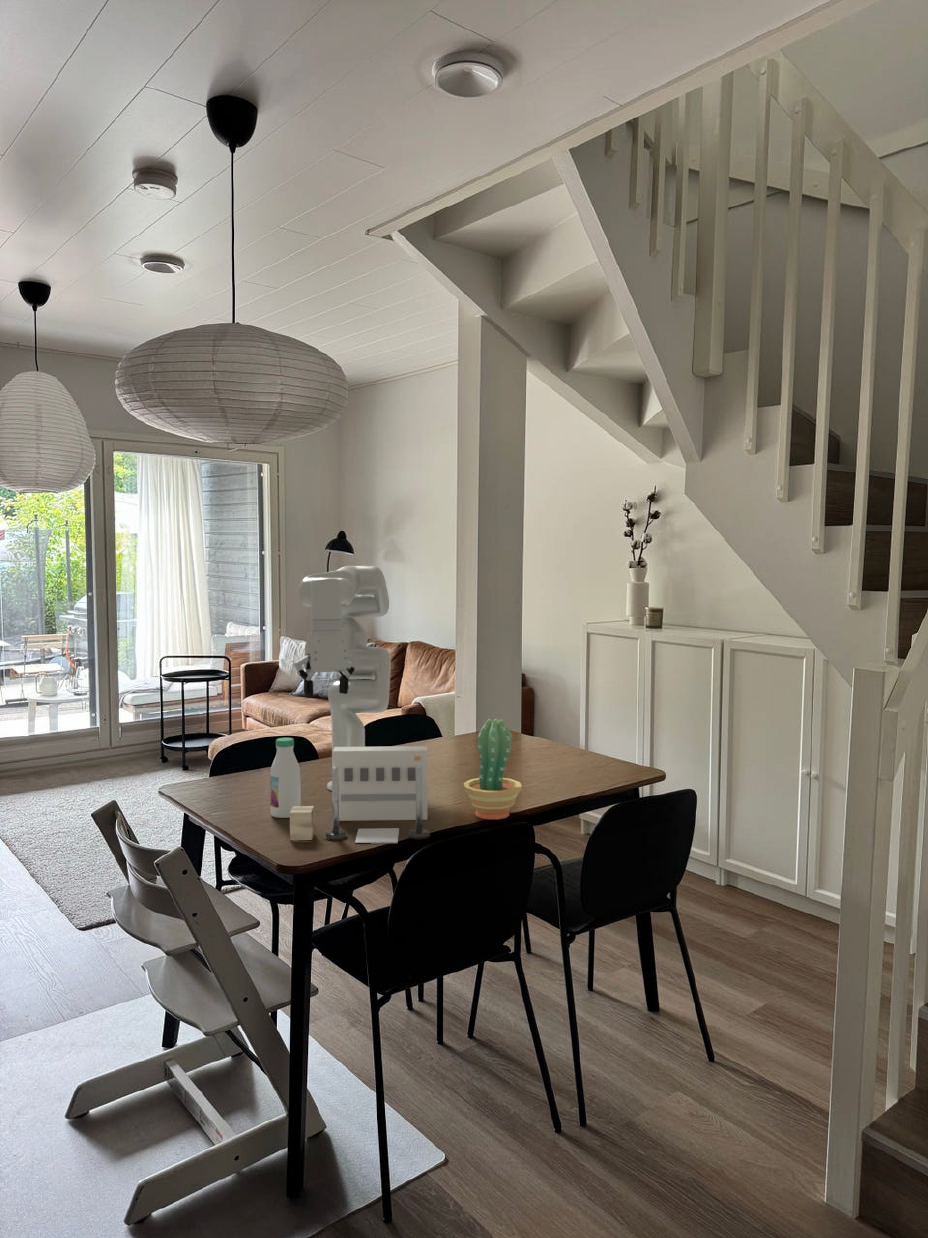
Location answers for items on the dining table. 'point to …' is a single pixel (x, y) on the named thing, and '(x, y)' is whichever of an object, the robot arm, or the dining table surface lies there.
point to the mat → (377, 835)
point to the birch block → (302, 823)
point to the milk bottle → (284, 780)
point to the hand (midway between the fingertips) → (326, 694)
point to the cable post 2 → (419, 809)
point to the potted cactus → (493, 773)
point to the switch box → (380, 782)
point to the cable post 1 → (335, 809)
